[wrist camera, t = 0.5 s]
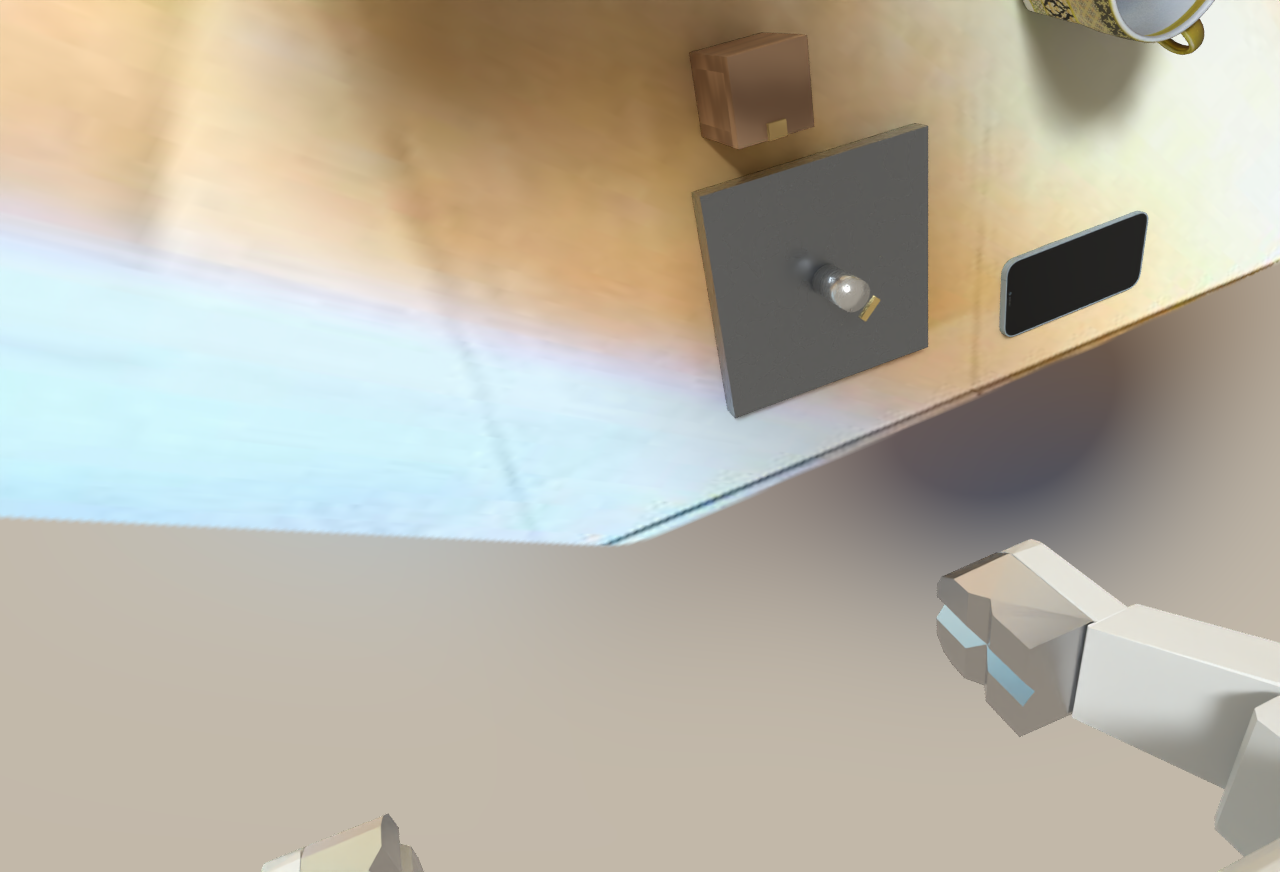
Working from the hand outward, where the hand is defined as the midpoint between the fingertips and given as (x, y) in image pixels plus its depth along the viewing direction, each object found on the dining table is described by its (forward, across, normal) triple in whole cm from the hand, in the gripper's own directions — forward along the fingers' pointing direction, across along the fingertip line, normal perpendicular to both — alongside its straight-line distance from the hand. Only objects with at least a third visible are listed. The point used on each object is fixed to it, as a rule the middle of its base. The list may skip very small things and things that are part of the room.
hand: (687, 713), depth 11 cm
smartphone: (+44, -51, +23) cm, 71 cm away
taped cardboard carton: (+44, -21, 0) cm, 49 cm away
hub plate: (+44, -26, +15) cm, 53 cm away
